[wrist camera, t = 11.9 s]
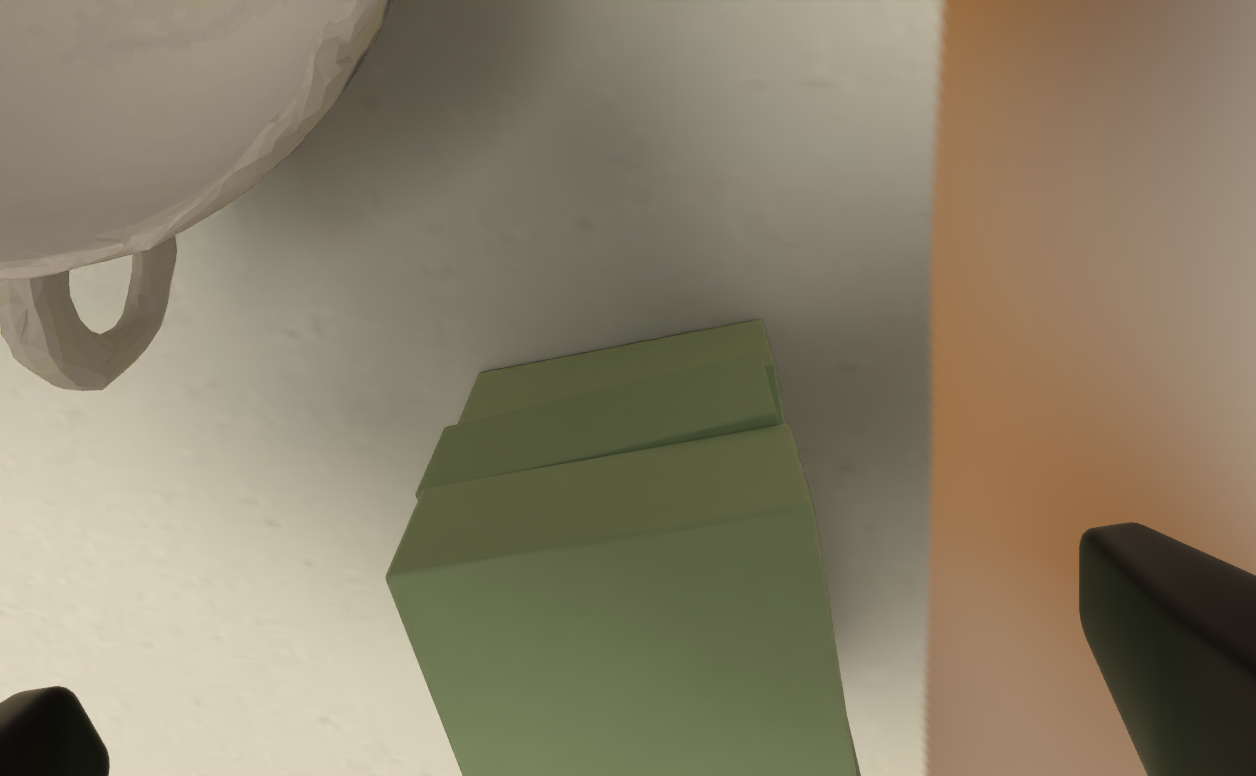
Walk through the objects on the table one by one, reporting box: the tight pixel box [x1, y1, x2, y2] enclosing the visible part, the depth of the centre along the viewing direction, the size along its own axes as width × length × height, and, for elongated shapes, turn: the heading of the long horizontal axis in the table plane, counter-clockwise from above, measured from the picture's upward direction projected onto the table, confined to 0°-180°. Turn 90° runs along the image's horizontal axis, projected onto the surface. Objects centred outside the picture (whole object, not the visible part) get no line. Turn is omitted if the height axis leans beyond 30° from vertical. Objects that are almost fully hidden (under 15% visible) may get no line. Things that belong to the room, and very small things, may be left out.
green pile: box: [416, 319, 861, 776], centre depth 20 cm, size 7×9×5 cm
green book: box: [386, 424, 857, 776], centre depth 17 cm, size 6×9×3 cm
